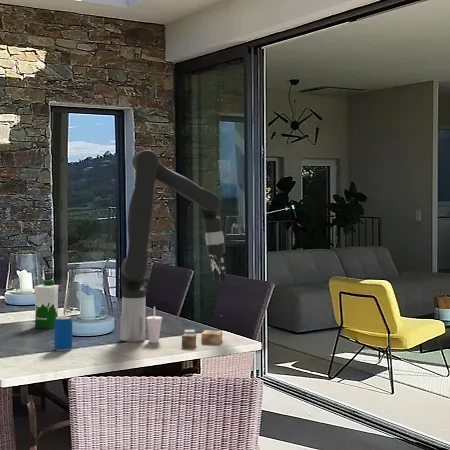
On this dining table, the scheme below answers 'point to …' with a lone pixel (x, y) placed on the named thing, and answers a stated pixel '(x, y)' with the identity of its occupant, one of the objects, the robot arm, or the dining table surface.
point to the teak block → (211, 337)
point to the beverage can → (63, 333)
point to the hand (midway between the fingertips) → (219, 281)
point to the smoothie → (154, 327)
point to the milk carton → (46, 304)
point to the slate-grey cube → (190, 331)
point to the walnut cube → (188, 340)
